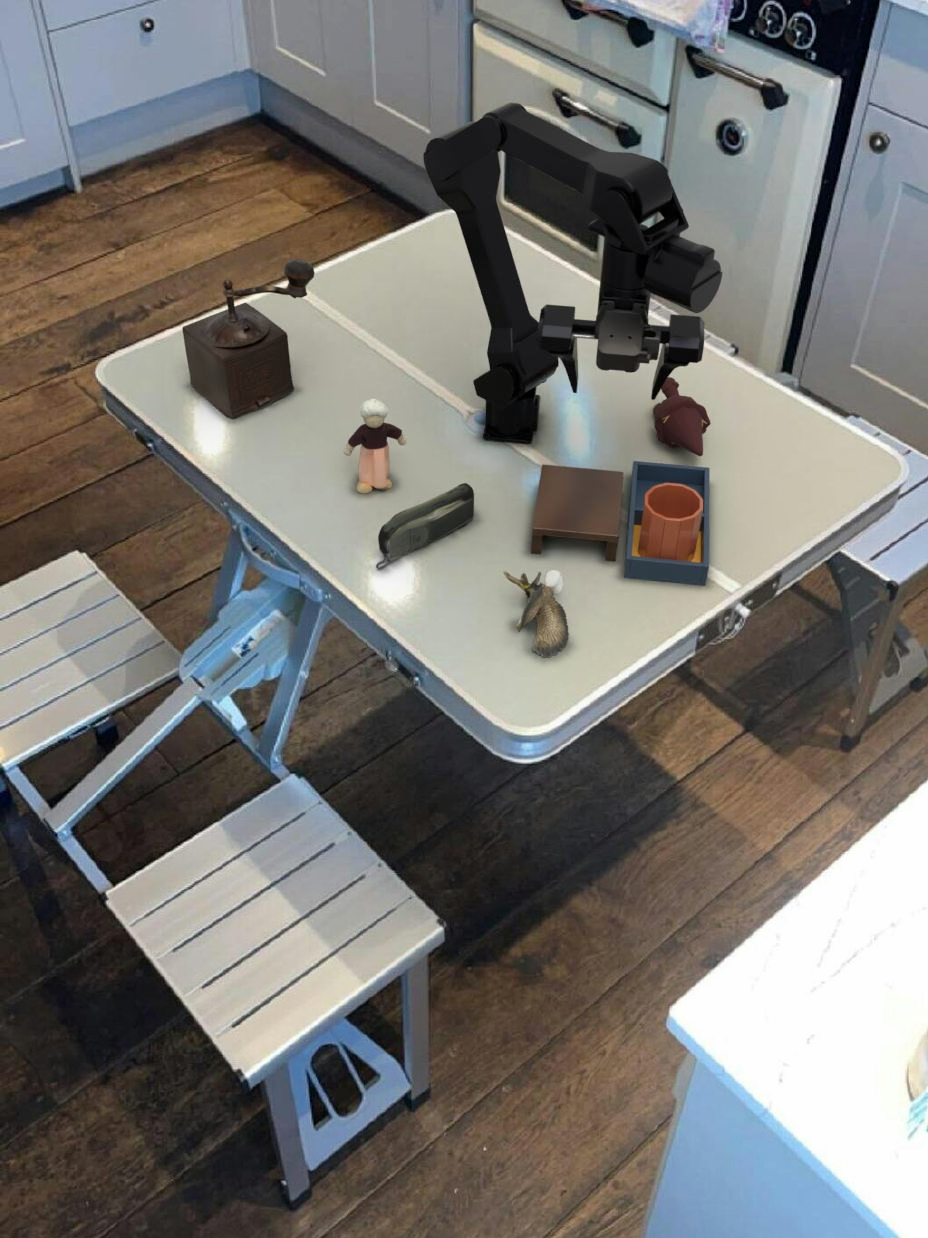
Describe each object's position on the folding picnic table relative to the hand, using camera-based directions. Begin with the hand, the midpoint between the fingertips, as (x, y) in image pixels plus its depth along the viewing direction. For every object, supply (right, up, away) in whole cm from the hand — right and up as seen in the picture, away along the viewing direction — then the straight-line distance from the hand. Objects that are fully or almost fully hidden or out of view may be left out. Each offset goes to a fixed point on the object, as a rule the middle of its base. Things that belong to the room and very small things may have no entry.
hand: (613, 394), depth 153 cm
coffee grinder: (-46, +6, +23) cm, 52 cm away
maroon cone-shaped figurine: (+10, -4, +15) cm, 18 cm away
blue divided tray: (+7, -16, +3) cm, 17 cm away
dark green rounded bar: (-23, -17, +1) cm, 29 cm away
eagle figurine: (-10, -28, -9) cm, 31 cm away
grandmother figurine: (-29, -10, +8) cm, 31 cm away
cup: (+6, -18, -1) cm, 19 cm away
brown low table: (-4, -15, +3) cm, 16 cm away
